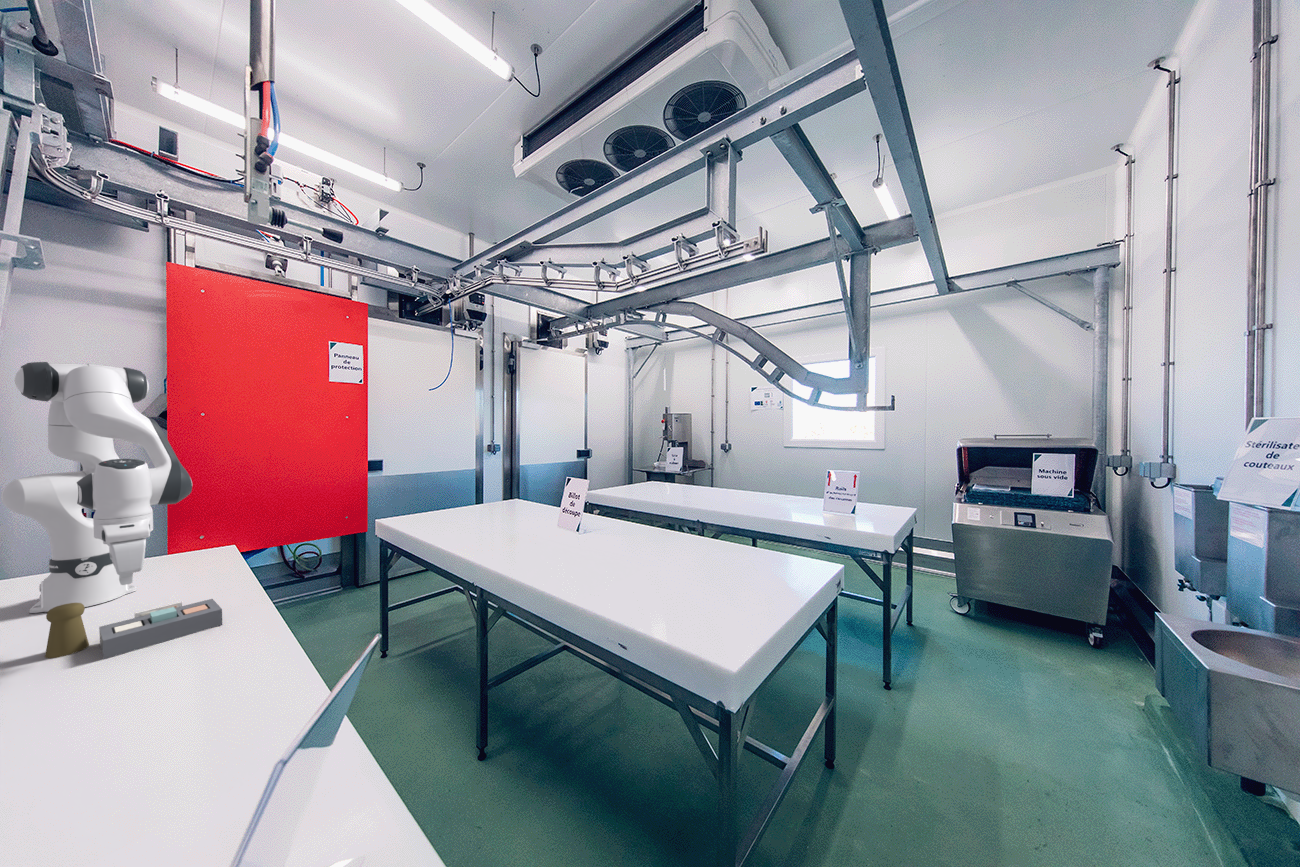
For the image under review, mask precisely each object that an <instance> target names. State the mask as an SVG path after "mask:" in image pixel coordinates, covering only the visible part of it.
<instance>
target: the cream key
mask: <svg viewBox="0 0 1300 867" xmlns="http://www.w3.org/2000/svg"><path fill="white" fill-rule="evenodd" d="M141 626H143V625H142V623H141V621H138V622H134V623H130V624H126V625H122V626H118V627H114V633H118V632H122V631H126V630H129V629H133V628H137V627H141Z"/></svg>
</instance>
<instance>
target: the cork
mask: <svg viewBox="0 0 1300 867" xmlns="http://www.w3.org/2000/svg"><path fill="white" fill-rule="evenodd" d="M85 610H86V607H84V605H83V604H82V603H68V604H64V605H60V606H56V607H54V608H52V609H50V610H49V611H48V612H46V618H45V619H46V621H47V622H49V623H50V627H49V631H48V638H47V642H46V648H45V653H44V654H45V655H44V658H45V659H57V658H61V657H66V656H69V655H72V654H73V655H74V654H77V653H78V652H81V651H84V650H86V649H87V648H88V647H90V642H89V640H88V636H87V632H86V628H85V625H84V621H83V619H82V615H83V614H84V613H85Z"/></svg>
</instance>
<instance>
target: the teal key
mask: <svg viewBox="0 0 1300 867" xmlns="http://www.w3.org/2000/svg"><path fill="white" fill-rule="evenodd" d="M175 617H177V611H176V609H175V608H174V607H171V608H167V609H162V610H158V611H154V612H150V624H152V623H156V622H160V621H164V620H168V619H171V618H175Z"/></svg>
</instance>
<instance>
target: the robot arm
mask: <svg viewBox="0 0 1300 867" xmlns="http://www.w3.org/2000/svg"><path fill="white" fill-rule="evenodd" d="M14 383H15V384H14V385H15V386H16V388H17V390H18V391H19V392H20V394H21V395H22V396H24V397H25V398H27V399H29V400H33V401H39V402H47V403H48V402H49V401H50V406H49V409H48V417H47V444H48V445H47V447H48V450H49V452H50V453H51V454H53V455H54V456H56V457H58V458H62V459H64V460H69V461H72V462H74V461H75V462H78V463H80V465H81V467H82V470H78V471H68V472H54V473H42V474H35V475H29V476H25V477H19V478H15V479H13V480H11V481H10V482H8V483H7V484H6V485H5V486H4V488H3V489H2V492H1V495H0V499H1V502H2V504H3V506H4V507H5V508H6V509H8V511H9V510H10V511H11V512H13V513H15V514H20V515H22V516H25V517H28V518H30V519H32V520H34V521H36V522H38V524H40V525H41V526H42V527H43V528H44V529H45V531H46V532H47V534H48V539H49V542H50V550H51V559H49V561H48V562H49V563H48V570H49V573H50V574H49V575H48V576H47V577H45V578H44V579H43V580H42V581H41V582H40V584H39V587H38V588H39V589H38V590H39V592H40V595H39V601H38V602H36V603H35V604H34V605H32V607H31V608H29V611H28V613H29V614H39V613H47V612H48V611H49V610H50V609H52V608H54V607H56V606H60V605H64V604H68V603H82V604H83V605H84V607H85V608H87V607H92V606H95V605H100V604H102V603H106V602H109V601H114V600H116V599H118V598H120V597H123V596H124V595H128V594H130V593H133V592H137V590H138V588H137V586H135V585H132V583H133V575H134V573H139V572H141V571H142V570H143V567H144V563H145V556H146V548H147V546H146V545H147V538H150V536H151V532H152V531H153V530H154V512H153V511H154V510H153V508H152V506H154V505H158V506H159V505H176V504H177V503H180V502H181V501H182V500H184V499H186V498H187V497H189V495H190V494H191V493H192V490H193V481H192V478H191V476H190V474H189V473H188V471H187V469H186V468H185V467H184V466H183V465H182V463H181V462H180V460H179V458H178V456H177V455H176V452H175V450H174V448H173V447H172V445H171V444H170V441H169V439H168V438H167V436H166V434H165V432H164V430H163V429H162V427H161V426H160V425H159V424H158V422H157V421H156V420H155V419H153V418H151V417H148V416H145V415H144V414H143V413H141V412H140V411H139V410H138V409H137V408H136V407H135V405H134V403H138V402H141V401H142V400H144V399H145V398H146V396H147V394H148V393H149V391H150V383H149V380H148V379H147V377H146V374H145V373H143V372H142V371H141V370H138V369H134V368H131V367H117V366H110V365H104V364H103V365H102V364H93V363H85V364H83V363H66V362H64V363H61V362H58V363H57V362H52V363H51V362H48V361H33V362H27V363H25V364H23V365H21V366H20V368H19V369H18V371H17V372H16V373H15V376H14ZM114 440H120V441H122V442H123V441H124V442H128V443H132V444H135V445H137V446H140V447H141V448H142V449H144V450H145V452H146V453H147V456H148V457H149V459H150V461H151V462H152V463H151V464H152V465H153V466H154V467H151V468H149V465H148V463H147V462H146V461H144V460H142V459H138V458H137V459H136V458H134V459H133V458H120V457H119V455H118V454H117V451H116V448H115V444H114ZM82 509H88V510H94V514H93V518H92V517H86V516H84V514H83V512H82Z"/></svg>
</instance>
